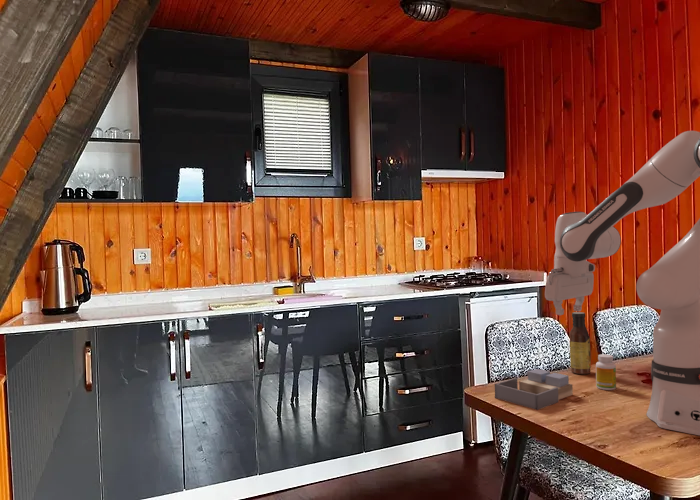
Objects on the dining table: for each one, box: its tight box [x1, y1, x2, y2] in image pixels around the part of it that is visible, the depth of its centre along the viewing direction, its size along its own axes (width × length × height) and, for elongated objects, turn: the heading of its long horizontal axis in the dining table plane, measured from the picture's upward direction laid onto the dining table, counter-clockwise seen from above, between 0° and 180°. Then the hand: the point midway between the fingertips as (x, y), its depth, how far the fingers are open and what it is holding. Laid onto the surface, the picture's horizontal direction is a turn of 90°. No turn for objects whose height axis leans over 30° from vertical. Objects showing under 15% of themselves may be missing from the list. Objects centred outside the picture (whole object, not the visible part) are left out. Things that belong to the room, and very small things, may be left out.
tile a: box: [546, 372, 570, 387], centre depth 155 cm, size 4×4×2 cm
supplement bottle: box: [595, 353, 617, 391], centre depth 160 cm, size 5×5×10 cm
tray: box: [494, 377, 559, 411], centre depth 152 cm, size 14×10×4 cm
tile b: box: [527, 368, 551, 383], centre depth 160 cm, size 4×4×2 cm
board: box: [518, 378, 574, 401], centre depth 157 cm, size 12×8×3 cm
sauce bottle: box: [569, 311, 592, 375], centre depth 177 cm, size 7×6×20 cm
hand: (568, 312), depth 160 cm, fingers open, 8 cm apart
